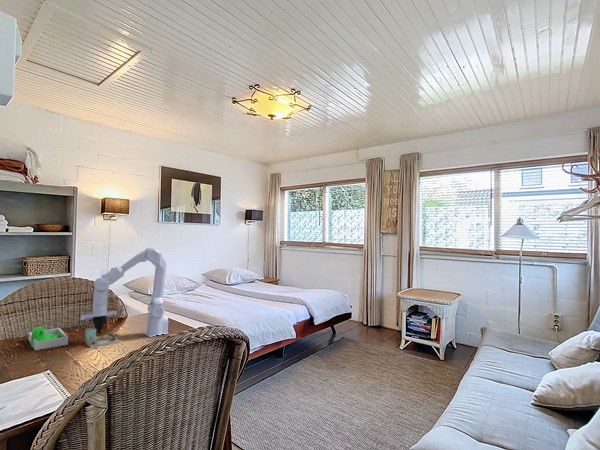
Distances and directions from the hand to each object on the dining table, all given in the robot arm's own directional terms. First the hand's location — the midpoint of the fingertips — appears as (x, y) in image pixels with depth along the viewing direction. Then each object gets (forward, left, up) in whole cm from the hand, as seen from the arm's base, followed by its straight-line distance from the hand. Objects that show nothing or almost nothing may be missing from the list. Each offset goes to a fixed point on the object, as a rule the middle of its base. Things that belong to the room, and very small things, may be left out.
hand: (98, 332), depth 151 cm
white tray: (+17, -12, -4) cm, 21 cm away
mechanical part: (+17, -12, -4) cm, 21 cm away
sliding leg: (+3, +2, -3) cm, 4 cm away
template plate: (-1, +5, -4) cm, 6 cm away
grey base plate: (-2, +2, -4) cm, 5 cm away
